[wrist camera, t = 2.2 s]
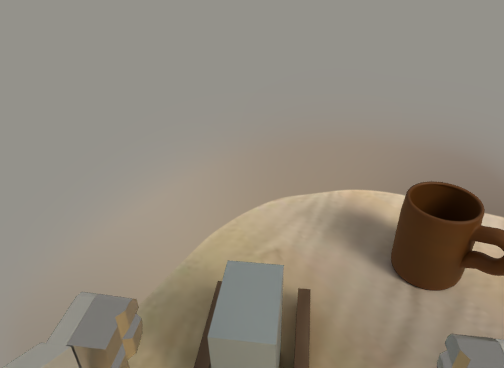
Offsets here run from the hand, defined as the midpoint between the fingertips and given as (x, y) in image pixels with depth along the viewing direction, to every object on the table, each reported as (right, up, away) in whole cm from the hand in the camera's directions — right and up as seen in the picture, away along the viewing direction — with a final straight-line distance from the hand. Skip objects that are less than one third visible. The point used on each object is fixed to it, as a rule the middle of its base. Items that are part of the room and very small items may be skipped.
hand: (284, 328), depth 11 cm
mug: (+20, -7, +33) cm, 40 cm away
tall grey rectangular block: (-1, -13, +24) cm, 27 cm away
